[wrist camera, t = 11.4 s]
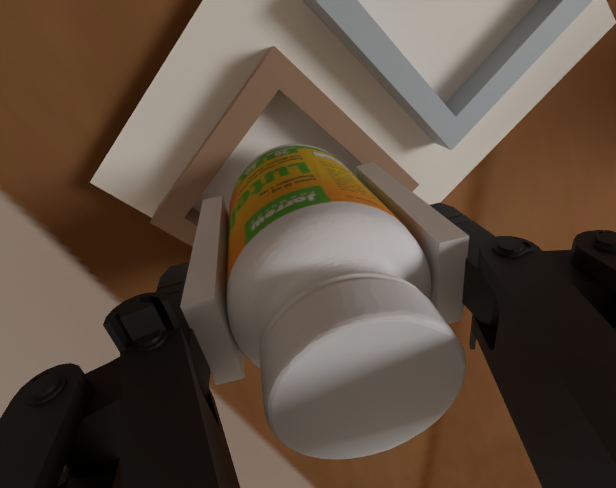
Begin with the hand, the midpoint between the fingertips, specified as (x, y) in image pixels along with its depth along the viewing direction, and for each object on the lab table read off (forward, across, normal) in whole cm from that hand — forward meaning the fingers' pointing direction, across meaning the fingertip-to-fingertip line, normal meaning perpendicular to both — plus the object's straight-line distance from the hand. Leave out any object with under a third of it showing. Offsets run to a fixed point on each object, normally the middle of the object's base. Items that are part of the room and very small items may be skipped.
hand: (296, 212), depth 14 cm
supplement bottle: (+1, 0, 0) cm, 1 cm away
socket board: (+4, +4, +3) cm, 6 cm away
